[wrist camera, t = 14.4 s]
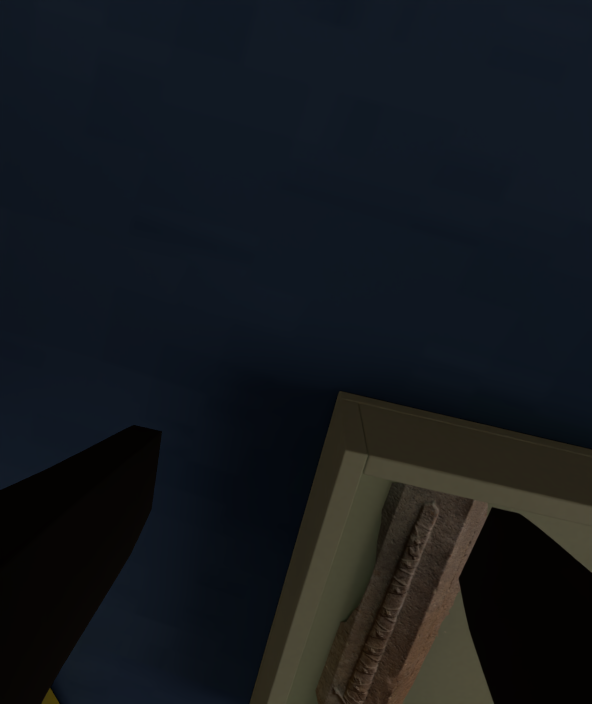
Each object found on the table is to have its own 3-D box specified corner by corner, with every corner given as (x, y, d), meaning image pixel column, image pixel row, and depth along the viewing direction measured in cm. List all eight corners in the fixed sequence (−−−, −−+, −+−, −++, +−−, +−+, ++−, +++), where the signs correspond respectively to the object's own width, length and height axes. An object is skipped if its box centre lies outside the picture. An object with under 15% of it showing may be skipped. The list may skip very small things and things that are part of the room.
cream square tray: (248, 705, 25) (232, 814, 21) (339, 390, 18) (344, 449, 14) (590, 780, 26) (647, 902, 21) (808, 499, 19) (965, 592, 14)
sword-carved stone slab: (397, 739, 24) (340, 782, 21) (360, 681, 26) (305, 713, 24) (527, 482, 18) (468, 501, 15) (463, 438, 20) (404, 449, 18)
